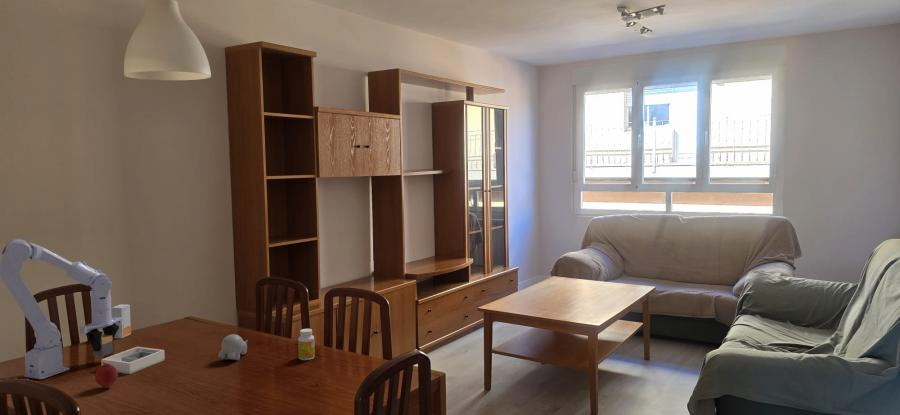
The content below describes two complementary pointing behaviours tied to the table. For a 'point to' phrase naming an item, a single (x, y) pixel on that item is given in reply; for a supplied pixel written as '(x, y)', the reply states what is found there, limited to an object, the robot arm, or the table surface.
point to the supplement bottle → (306, 345)
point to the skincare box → (125, 314)
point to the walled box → (135, 359)
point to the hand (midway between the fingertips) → (102, 349)
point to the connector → (105, 346)
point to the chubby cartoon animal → (232, 347)
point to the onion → (106, 375)
